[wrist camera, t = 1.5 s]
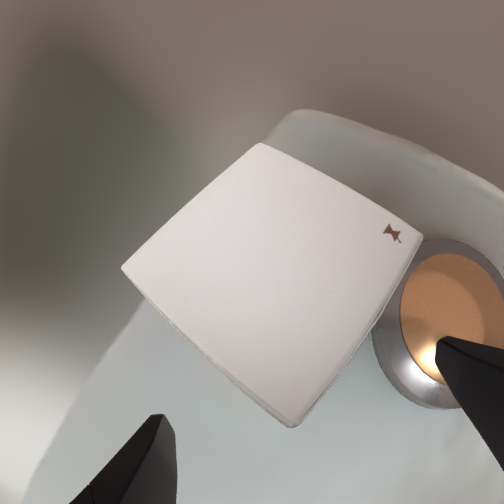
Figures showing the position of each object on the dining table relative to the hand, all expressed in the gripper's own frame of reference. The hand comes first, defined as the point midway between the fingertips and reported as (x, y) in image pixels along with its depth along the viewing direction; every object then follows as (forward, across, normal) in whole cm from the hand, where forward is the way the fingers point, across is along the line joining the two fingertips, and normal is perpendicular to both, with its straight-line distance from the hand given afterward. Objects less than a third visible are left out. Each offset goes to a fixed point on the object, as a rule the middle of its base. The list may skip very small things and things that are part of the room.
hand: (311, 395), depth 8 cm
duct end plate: (+9, -13, +7) cm, 17 cm away
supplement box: (+11, 0, +5) cm, 12 cm away
